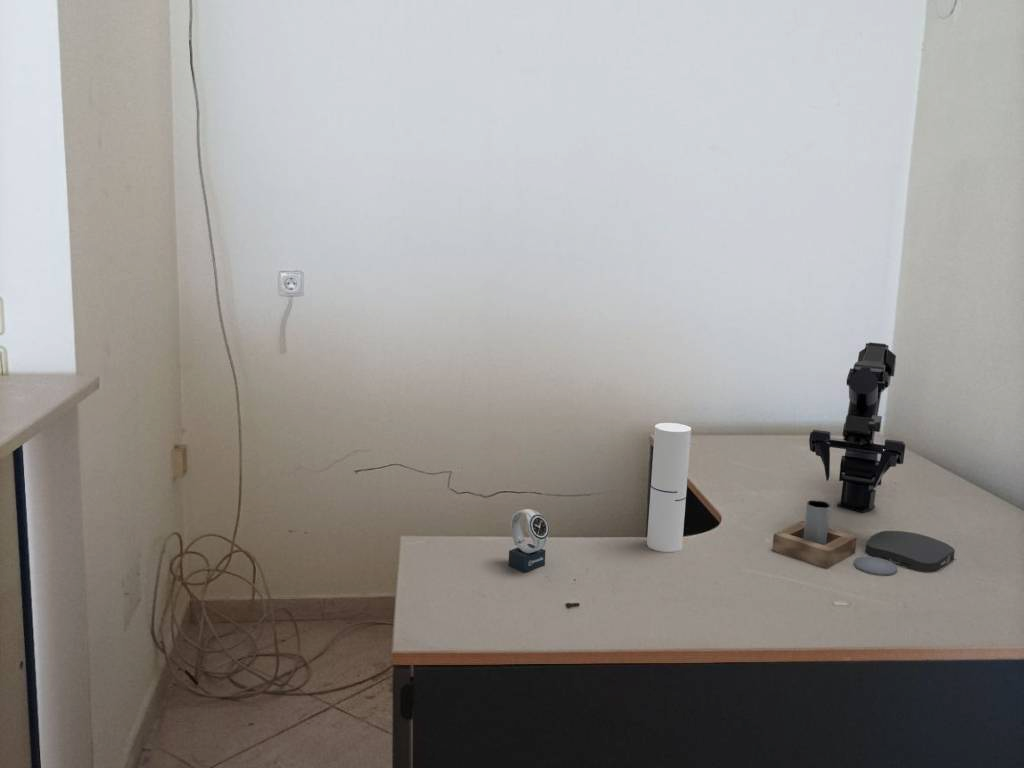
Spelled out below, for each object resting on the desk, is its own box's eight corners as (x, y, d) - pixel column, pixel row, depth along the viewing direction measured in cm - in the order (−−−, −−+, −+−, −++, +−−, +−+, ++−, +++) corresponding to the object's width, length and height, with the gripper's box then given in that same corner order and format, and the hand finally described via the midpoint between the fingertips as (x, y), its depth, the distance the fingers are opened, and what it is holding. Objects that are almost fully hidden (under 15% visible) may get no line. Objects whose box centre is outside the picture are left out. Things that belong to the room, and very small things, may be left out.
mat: (846, 566, 182) (846, 563, 182) (864, 556, 187) (864, 553, 187) (886, 579, 176) (886, 576, 176) (903, 568, 182) (904, 565, 182)
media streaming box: (889, 537, 199) (890, 524, 198) (959, 558, 189) (961, 544, 188) (858, 554, 189) (860, 541, 188) (930, 577, 179) (932, 563, 178)
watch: (532, 576, 172) (534, 520, 170) (502, 563, 178) (503, 508, 175) (552, 568, 176) (555, 513, 174) (522, 555, 181) (524, 502, 179)
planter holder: (772, 550, 189) (773, 534, 188) (801, 536, 197) (802, 520, 196) (827, 568, 180) (829, 551, 180) (855, 553, 189) (857, 536, 188)
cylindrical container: (643, 538, 192) (651, 422, 187) (677, 538, 193) (685, 422, 188) (651, 552, 185) (659, 431, 180) (686, 552, 186) (695, 432, 181)
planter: (826, 557, 186) (832, 508, 184) (803, 554, 187) (808, 506, 185) (823, 548, 190) (829, 501, 188) (801, 546, 191) (806, 499, 189)
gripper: (814, 393, 194) (802, 460, 188) (910, 404, 187) (900, 474, 180) (816, 418, 203) (804, 482, 197) (907, 429, 196) (898, 496, 189)
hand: (850, 483), depth 191 cm, fingers open, 9 cm apart
